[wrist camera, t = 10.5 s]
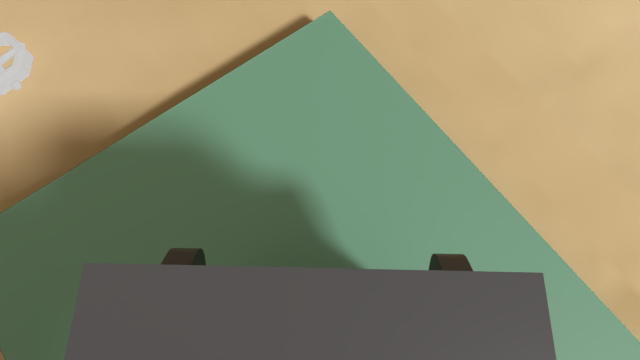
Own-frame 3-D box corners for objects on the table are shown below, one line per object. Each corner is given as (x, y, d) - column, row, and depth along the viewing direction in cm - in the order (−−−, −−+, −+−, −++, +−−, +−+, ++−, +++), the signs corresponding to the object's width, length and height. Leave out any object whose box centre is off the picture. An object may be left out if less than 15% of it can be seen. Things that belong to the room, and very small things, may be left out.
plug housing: (406, 393, 13) (588, 562, 4) (226, 388, 13) (25, 545, 4) (402, 298, 14) (543, 272, 5) (234, 295, 14) (84, 262, 5)
